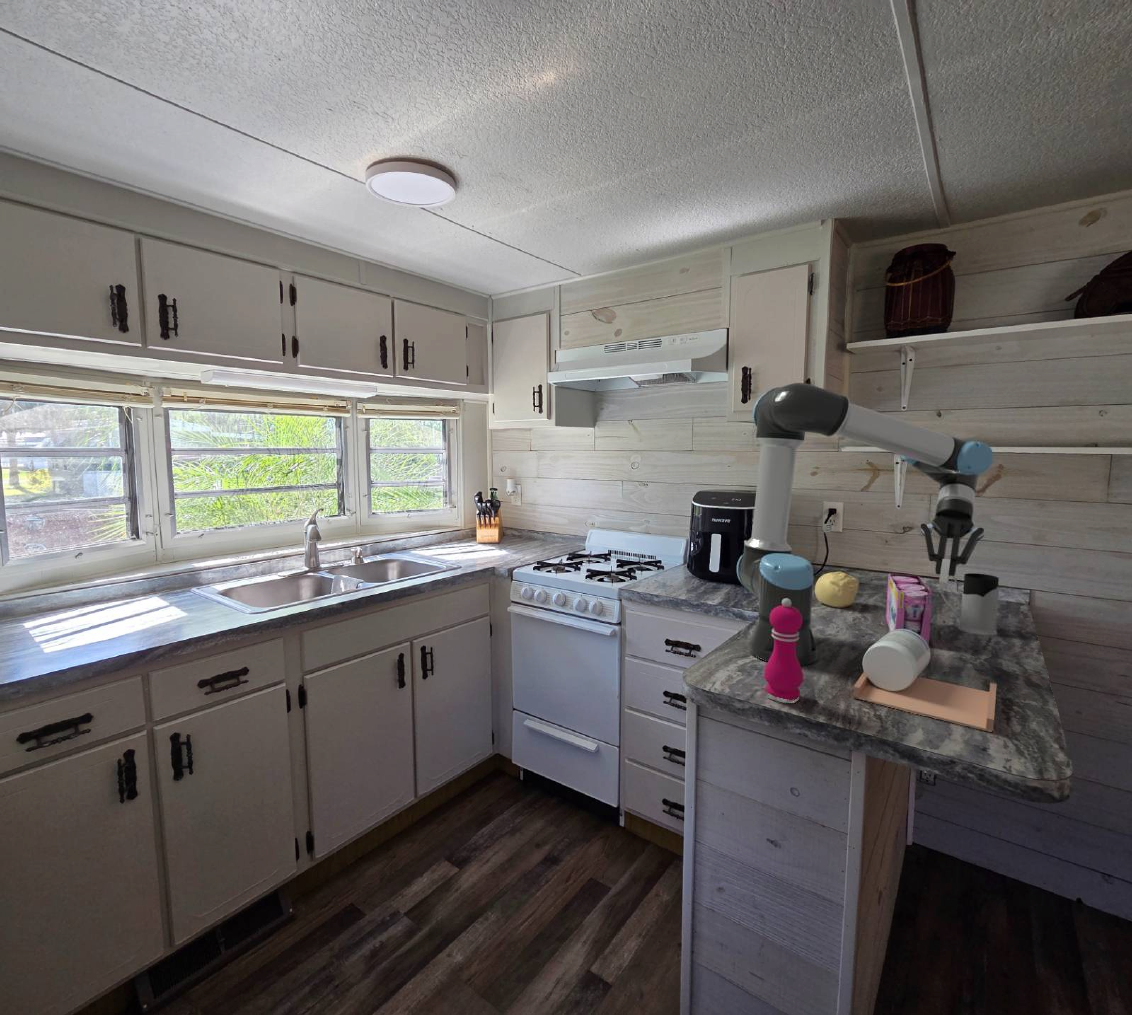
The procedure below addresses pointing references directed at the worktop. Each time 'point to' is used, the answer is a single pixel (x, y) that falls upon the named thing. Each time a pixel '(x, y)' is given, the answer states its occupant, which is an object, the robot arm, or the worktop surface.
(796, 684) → the pepper mill
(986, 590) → the glass holder
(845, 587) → the sculpture
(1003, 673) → the worktop surface
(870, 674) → the supplement tub
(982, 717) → the tan shallow tray
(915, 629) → the gum box
